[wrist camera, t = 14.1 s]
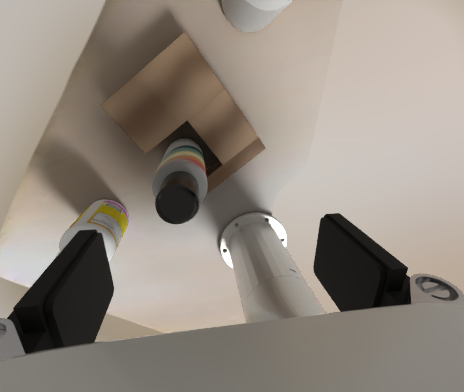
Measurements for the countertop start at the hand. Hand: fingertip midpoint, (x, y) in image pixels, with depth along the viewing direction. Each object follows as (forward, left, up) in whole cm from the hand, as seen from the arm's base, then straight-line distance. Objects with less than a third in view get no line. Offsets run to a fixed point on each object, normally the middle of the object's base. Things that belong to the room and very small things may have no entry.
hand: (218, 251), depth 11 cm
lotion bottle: (-1, +3, -31) cm, 31 cm away
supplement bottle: (-1, +20, -31) cm, 37 cm away
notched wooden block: (+3, 0, -31) cm, 31 cm away
